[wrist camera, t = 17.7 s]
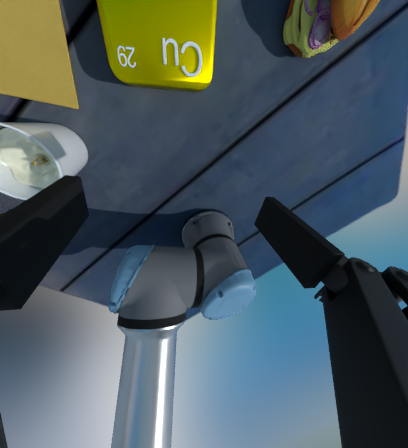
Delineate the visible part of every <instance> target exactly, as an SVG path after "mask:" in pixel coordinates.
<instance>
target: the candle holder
mask: <svg viewBox="0 0 408 448" xmlns="http://www.w3.org/2000/svg"><path fill="white" fill-rule="evenodd" d="M87 161H88V152H87V148H86V146H85V144H84V142H83V141H82V140H81V138H80V137H79V136H78V135H77V134H76V133H74V132H73V131H72V130H70V129H68V128H67V127H65V126H62V125H59V124H55V123H28V122H0V192H1V193H4V194H6V195H8V196H11V197H14V198H18V199H23V200H27V199H29V198H31V197H32V196H34V195H35V194H37V193H38V192H40V191H41V190H43V189H45V188H46V187H48V186H49V185H51V184H52V183H54V182H55V181H57V180H59V179H60V178H62V177H63V176H65V175H69V176H75V175H76V174H77V173H78V172H80V171H81V170H82V169H83V168H84V166H85V165H86V163H87Z"/></svg>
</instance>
